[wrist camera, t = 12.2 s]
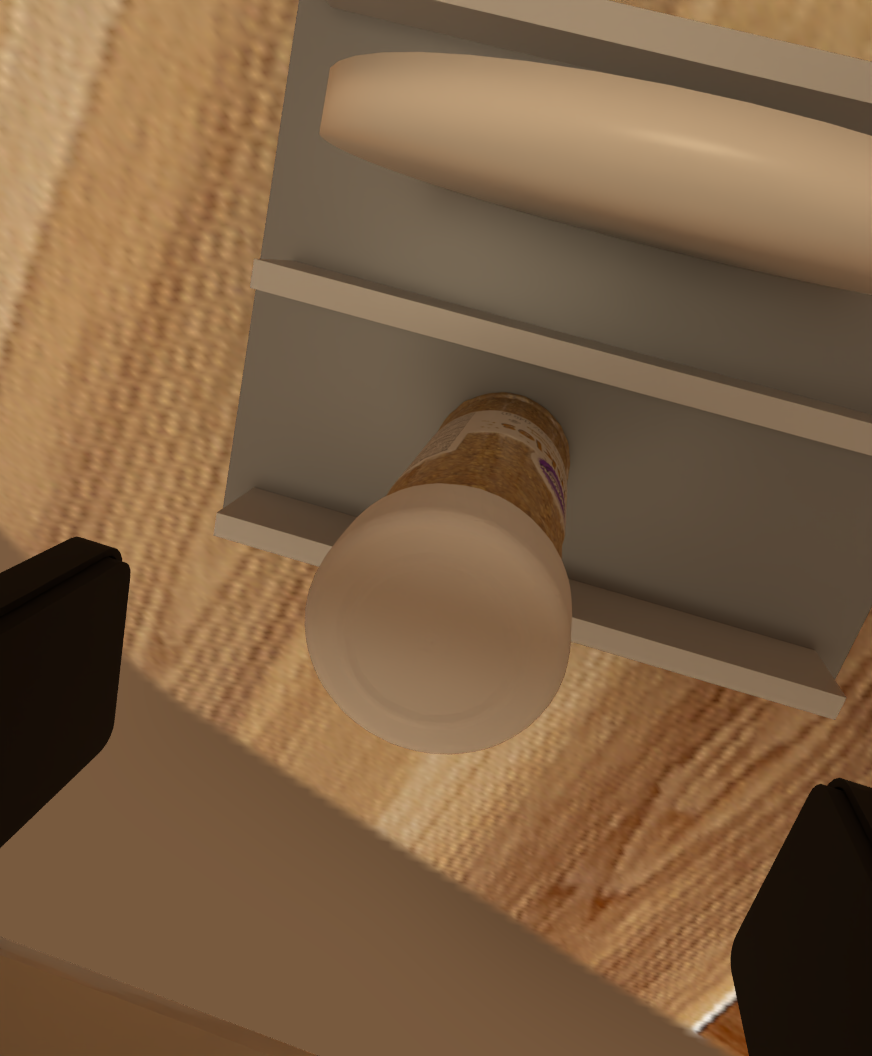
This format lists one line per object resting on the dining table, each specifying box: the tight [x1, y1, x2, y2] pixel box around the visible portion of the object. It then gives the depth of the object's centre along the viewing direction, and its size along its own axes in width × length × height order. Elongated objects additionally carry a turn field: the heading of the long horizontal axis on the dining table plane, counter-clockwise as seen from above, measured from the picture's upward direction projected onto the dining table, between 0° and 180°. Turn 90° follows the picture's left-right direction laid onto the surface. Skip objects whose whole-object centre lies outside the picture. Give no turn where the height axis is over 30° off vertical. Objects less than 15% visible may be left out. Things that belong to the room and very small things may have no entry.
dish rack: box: [214, 0, 872, 720], centre depth 17 cm, size 22×17×15 cm
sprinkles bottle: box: [305, 392, 572, 754], centre depth 19 cm, size 5×5×13 cm
